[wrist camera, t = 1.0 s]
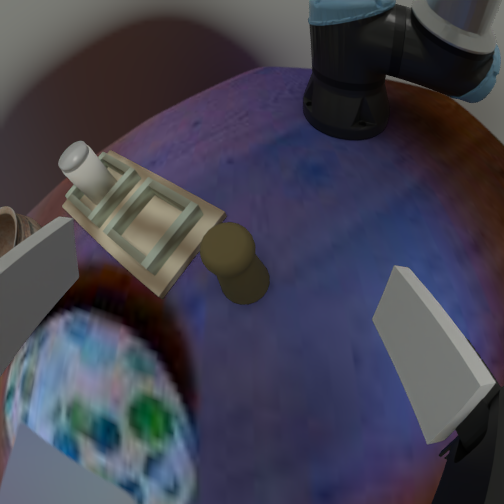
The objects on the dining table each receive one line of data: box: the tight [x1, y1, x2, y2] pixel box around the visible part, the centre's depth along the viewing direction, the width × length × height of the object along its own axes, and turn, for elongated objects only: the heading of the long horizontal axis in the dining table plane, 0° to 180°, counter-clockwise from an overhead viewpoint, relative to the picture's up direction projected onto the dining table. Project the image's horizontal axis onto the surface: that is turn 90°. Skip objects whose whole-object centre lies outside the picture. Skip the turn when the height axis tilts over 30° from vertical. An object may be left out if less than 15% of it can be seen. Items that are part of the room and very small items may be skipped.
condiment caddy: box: [62, 150, 227, 299], centre depth 42 cm, size 14×29×4 cm, turn 54°
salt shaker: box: [59, 141, 117, 205], centre depth 40 cm, size 6×6×10 cm
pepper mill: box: [200, 222, 270, 305], centre depth 31 cm, size 6×6×11 cm
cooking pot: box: [0, 206, 41, 258], centre depth 36 cm, size 25×19×12 cm
